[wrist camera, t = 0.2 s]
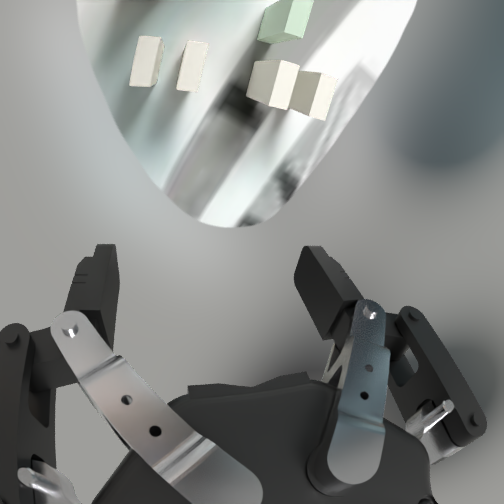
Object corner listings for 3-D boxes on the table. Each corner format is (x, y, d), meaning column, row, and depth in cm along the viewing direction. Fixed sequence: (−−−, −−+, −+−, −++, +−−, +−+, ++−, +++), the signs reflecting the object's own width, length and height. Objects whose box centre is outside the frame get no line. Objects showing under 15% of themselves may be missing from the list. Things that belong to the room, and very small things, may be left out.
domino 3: (266, 8, 27) (295, -9, 19) (280, 12, 27) (314, -2, 20) (256, 40, 29) (283, 32, 21) (271, 44, 30) (302, 38, 22)
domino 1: (148, 44, 27) (139, 35, 19) (164, 46, 27) (160, 37, 19) (141, 82, 29) (128, 85, 21) (156, 83, 30) (149, 87, 22)
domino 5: (287, 69, 33) (321, 72, 25) (300, 74, 33) (337, 79, 25) (277, 103, 35) (308, 116, 27) (291, 106, 36) (324, 120, 28)
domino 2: (184, 48, 28) (187, 40, 20) (200, 50, 29) (209, 43, 21) (176, 85, 31) (176, 89, 23) (192, 87, 31) (197, 92, 24)
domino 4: (254, 61, 31) (281, 59, 23) (269, 64, 32) (299, 65, 24) (245, 96, 34) (268, 105, 26) (260, 99, 34) (287, 110, 27)
